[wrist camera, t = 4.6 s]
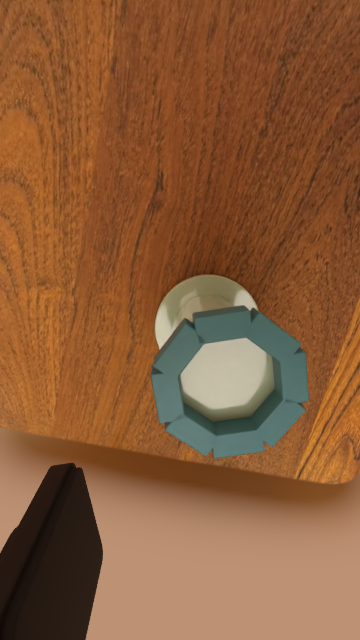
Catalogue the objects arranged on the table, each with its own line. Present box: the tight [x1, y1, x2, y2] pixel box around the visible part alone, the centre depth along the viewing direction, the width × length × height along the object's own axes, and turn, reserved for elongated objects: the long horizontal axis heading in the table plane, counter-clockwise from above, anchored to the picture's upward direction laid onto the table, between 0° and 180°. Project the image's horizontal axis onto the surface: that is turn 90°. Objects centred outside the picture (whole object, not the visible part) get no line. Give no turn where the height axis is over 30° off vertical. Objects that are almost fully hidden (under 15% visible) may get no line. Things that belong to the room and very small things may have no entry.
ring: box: [151, 305, 309, 458], centre depth 15 cm, size 7×7×1 cm
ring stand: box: [155, 274, 275, 422], centre depth 20 cm, size 8×8×10 cm
